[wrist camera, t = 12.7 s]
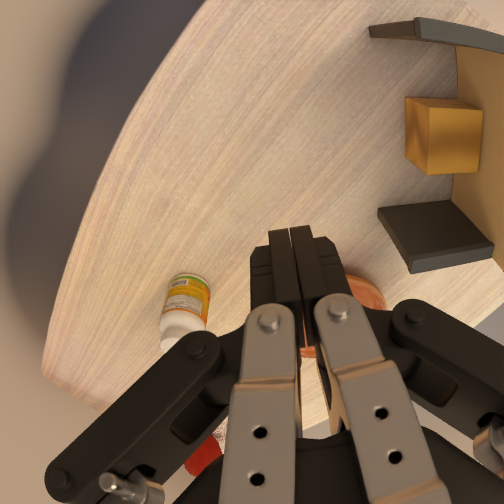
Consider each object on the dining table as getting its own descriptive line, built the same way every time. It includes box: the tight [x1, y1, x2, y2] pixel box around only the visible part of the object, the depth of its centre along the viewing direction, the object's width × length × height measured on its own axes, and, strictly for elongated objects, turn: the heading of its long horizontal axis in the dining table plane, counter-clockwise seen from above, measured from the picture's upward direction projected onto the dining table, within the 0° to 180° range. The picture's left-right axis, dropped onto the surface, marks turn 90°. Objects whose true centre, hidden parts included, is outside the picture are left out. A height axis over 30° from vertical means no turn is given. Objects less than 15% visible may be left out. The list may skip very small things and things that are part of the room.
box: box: [405, 97, 483, 175], centre depth 24 cm, size 6×6×5 cm
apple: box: [184, 435, 222, 477], centre depth 66 cm, size 10×10×14 cm
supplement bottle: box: [159, 274, 210, 354], centre depth 35 cm, size 5×5×10 cm
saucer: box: [300, 275, 386, 358], centre depth 40 cm, size 16×16×3 cm
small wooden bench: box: [369, 17, 504, 274], centre depth 20 cm, size 11×21×16 cm, turn 10°
